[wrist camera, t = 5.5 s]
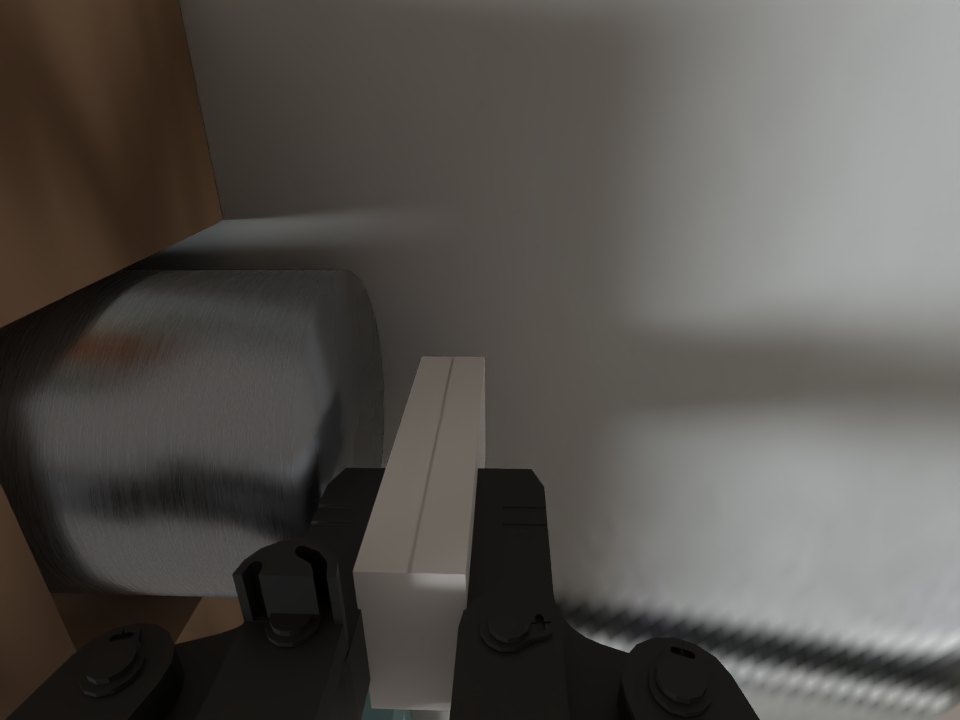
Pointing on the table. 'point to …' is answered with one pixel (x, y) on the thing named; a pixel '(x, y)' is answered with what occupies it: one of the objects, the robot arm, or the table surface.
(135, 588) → the steel axle
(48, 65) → the brown wooden arched block
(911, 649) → the table surface
